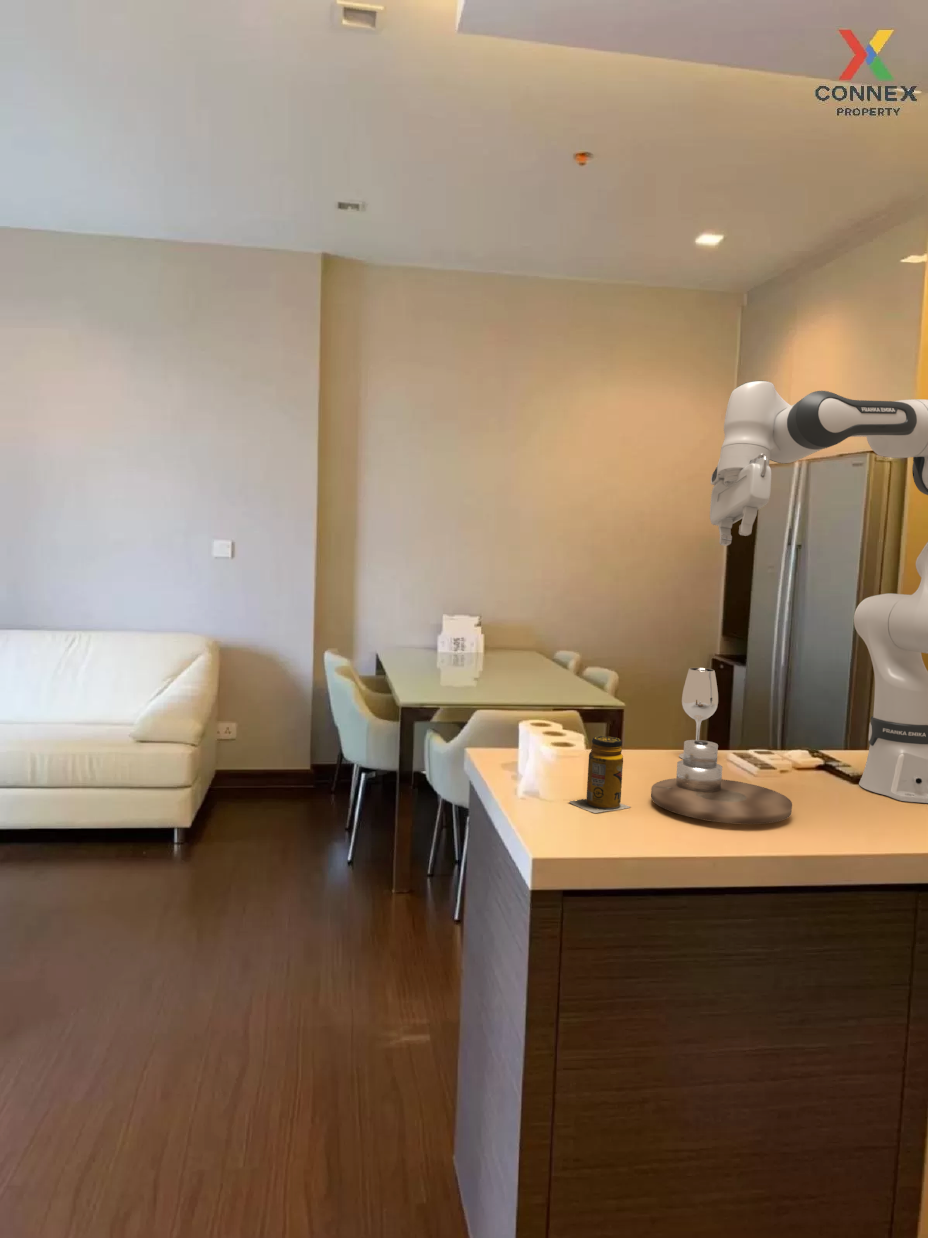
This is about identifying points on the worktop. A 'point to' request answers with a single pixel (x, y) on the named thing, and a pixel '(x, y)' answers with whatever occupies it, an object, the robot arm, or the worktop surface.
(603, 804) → the condiment
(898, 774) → the robot arm
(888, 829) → the worktop surface
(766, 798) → the disc
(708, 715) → the wineglass
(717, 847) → the worktop surface
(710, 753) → the stacked silver spool
